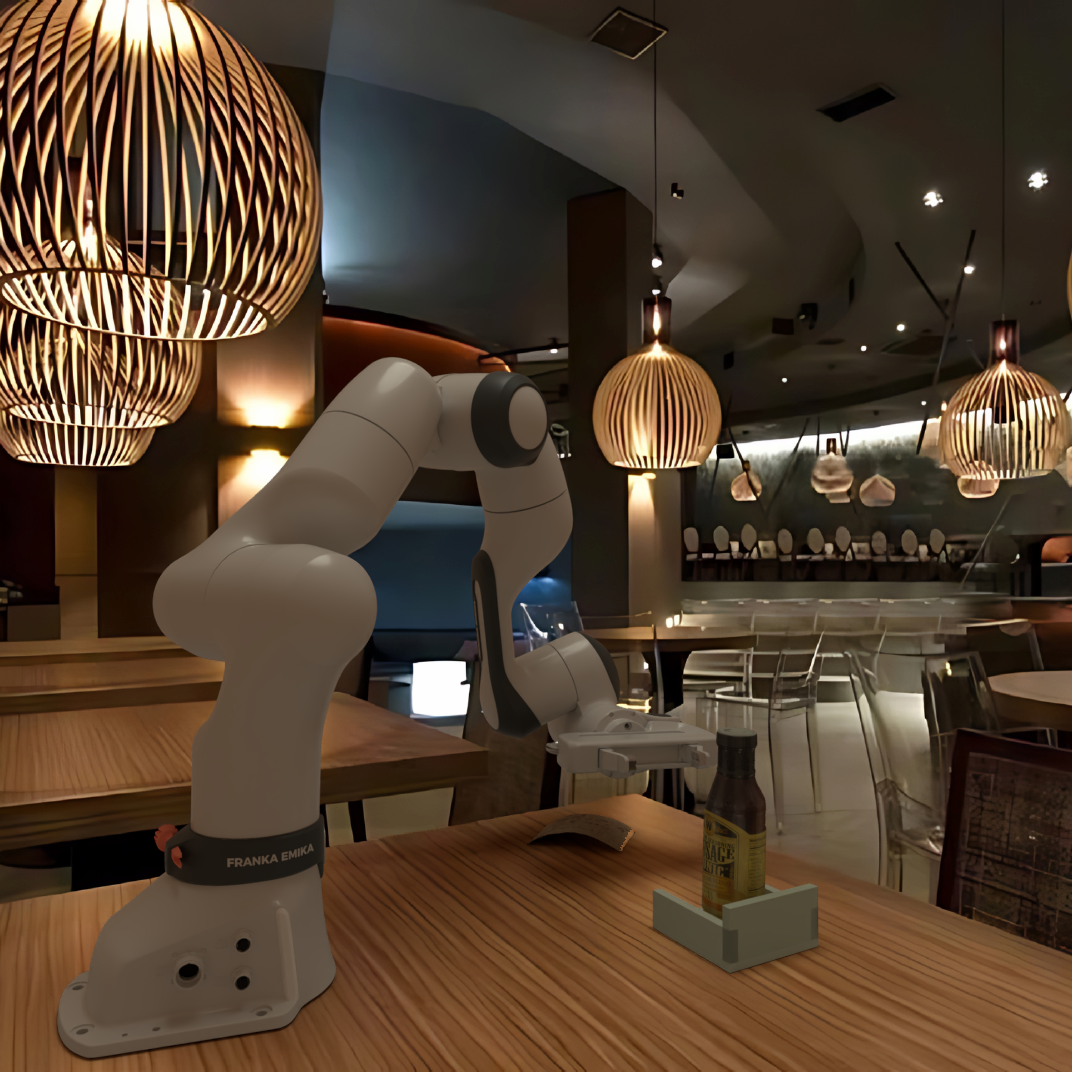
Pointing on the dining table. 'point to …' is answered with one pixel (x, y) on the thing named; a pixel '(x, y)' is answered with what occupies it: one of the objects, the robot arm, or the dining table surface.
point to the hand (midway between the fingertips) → (668, 763)
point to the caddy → (743, 926)
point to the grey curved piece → (590, 828)
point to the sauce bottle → (734, 825)
